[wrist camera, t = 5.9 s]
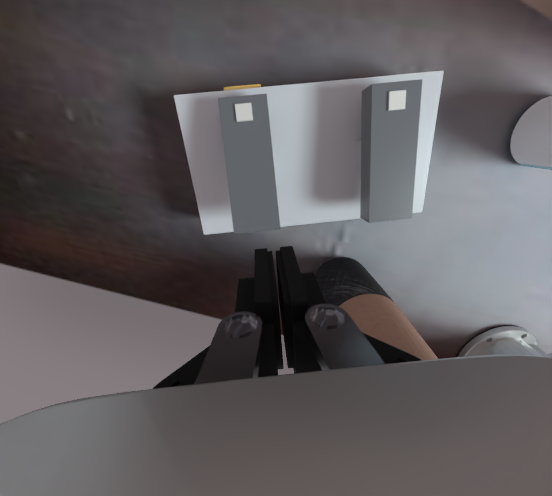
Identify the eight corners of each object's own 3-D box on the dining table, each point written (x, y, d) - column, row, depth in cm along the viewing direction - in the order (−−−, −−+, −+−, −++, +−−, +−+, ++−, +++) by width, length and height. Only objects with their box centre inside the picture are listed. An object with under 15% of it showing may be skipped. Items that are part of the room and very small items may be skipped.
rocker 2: (407, 86, 20) (423, 78, 18) (399, 213, 23) (412, 218, 21) (361, 91, 20) (373, 83, 18) (360, 217, 23) (369, 223, 21)
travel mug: (306, 301, 36) (357, 477, 18) (318, 252, 33) (393, 402, 15) (359, 306, 37) (458, 476, 19) (374, 258, 34) (511, 406, 16)
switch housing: (411, 77, 26) (455, 62, 20) (397, 199, 31) (429, 215, 25) (187, 98, 25) (167, 88, 19) (212, 219, 30) (201, 239, 24)
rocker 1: (266, 105, 21) (266, 92, 19) (279, 228, 22) (280, 229, 20) (222, 109, 21) (217, 97, 19) (236, 232, 22) (233, 234, 20)
